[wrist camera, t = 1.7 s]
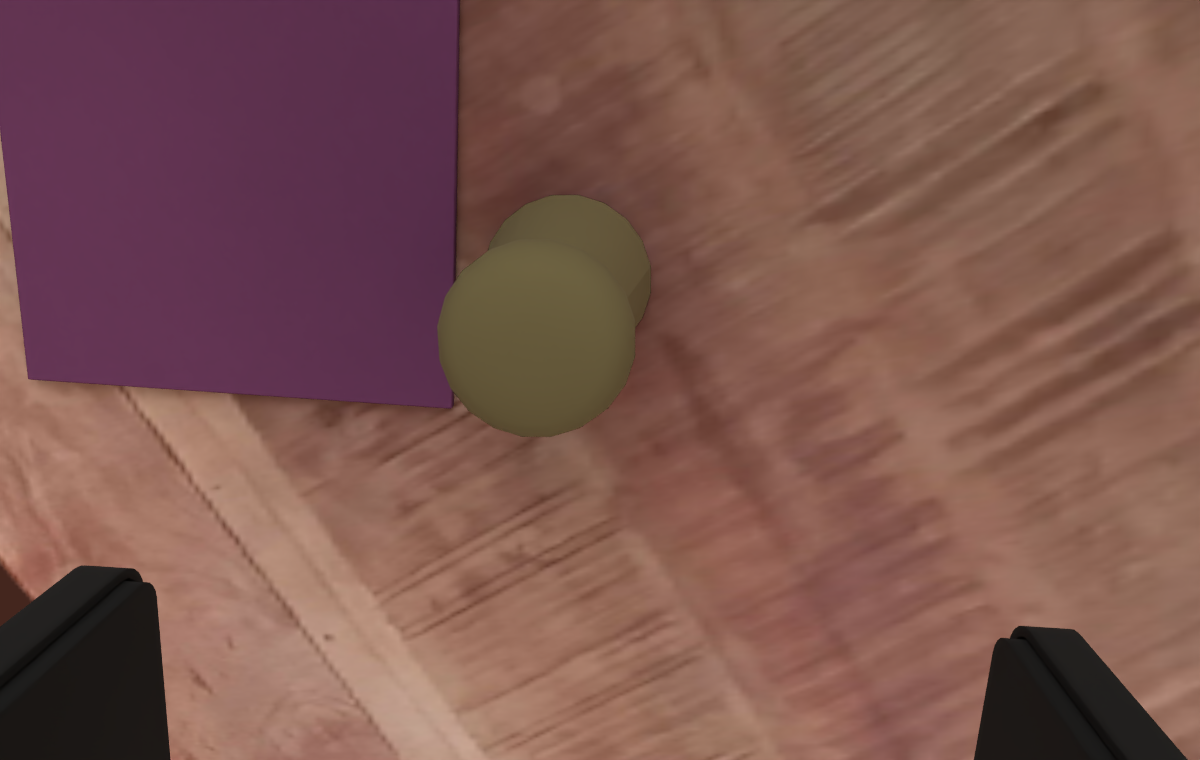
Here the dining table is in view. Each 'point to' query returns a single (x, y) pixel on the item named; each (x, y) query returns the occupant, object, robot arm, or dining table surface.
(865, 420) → the dining table surface
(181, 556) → the dining table surface
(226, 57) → the placemat
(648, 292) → the pepper mill
